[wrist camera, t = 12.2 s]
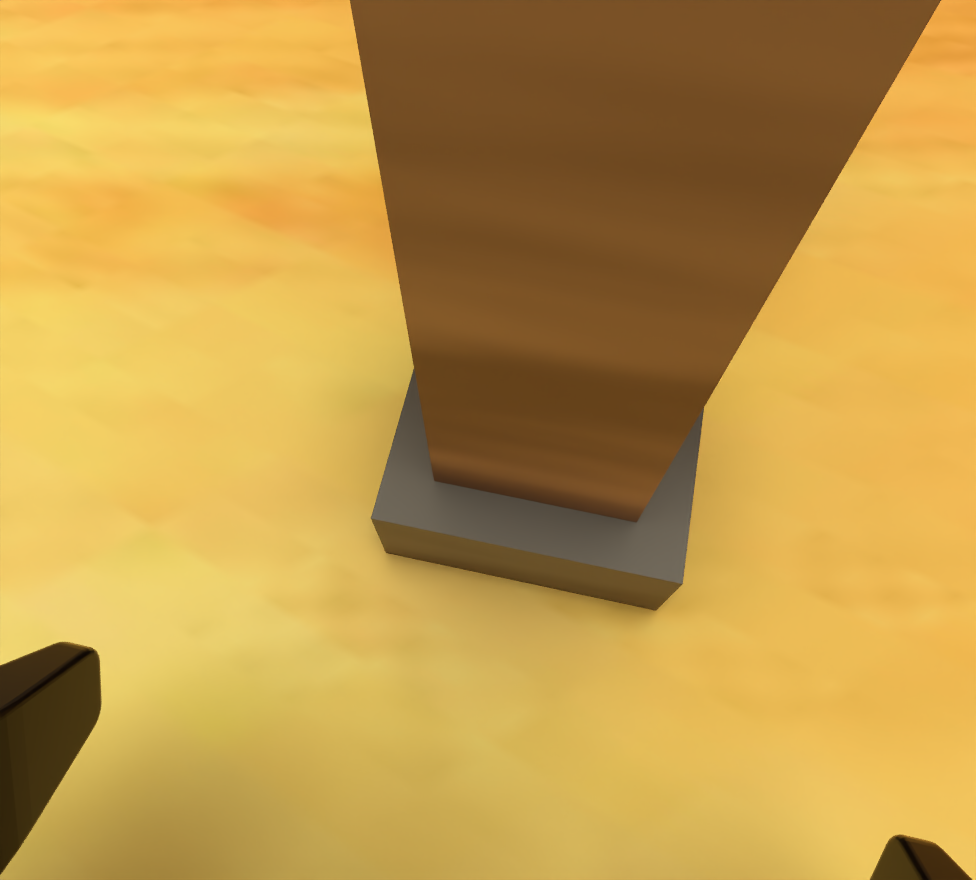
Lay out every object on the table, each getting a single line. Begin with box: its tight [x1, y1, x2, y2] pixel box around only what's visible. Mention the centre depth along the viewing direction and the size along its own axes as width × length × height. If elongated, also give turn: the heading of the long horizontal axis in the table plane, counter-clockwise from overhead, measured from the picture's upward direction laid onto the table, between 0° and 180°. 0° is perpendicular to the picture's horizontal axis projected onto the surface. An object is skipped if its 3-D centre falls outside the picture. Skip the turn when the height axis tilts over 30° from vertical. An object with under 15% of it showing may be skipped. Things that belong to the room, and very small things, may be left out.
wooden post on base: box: [350, 0, 941, 610], centre depth 12 cm, size 6×6×14 cm
